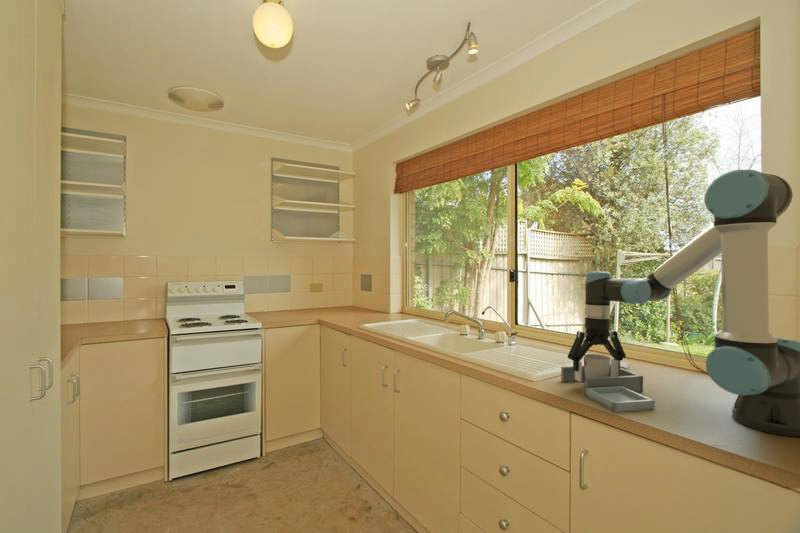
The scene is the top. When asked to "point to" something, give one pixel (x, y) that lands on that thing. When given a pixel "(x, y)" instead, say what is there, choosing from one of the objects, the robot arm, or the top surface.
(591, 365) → the cup
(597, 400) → the tray
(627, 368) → the charger
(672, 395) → the top surface
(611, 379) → the holder
